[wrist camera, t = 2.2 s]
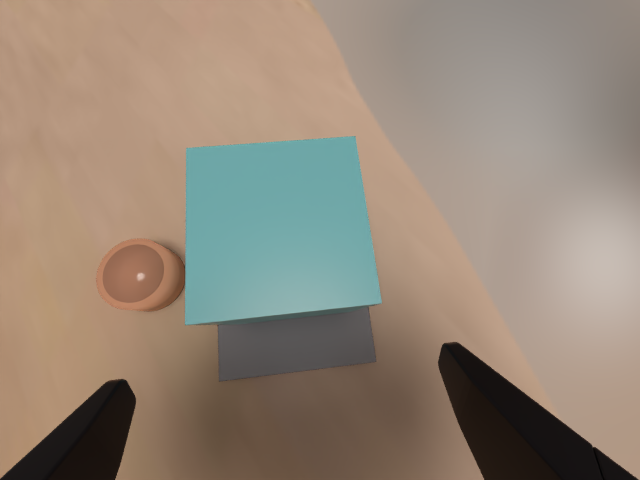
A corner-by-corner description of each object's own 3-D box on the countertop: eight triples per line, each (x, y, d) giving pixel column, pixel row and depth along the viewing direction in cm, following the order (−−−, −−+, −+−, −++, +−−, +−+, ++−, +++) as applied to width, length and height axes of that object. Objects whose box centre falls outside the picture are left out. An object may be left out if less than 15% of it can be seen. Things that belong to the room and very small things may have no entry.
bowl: (185, 307, 20) (169, 305, 18) (117, 314, 20) (92, 313, 18) (185, 245, 22) (170, 235, 19) (121, 250, 21) (98, 241, 19)
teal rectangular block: (349, 312, 20) (381, 303, 12) (238, 324, 20) (185, 325, 11) (336, 209, 22) (355, 136, 14) (234, 218, 22) (186, 148, 13)
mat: (375, 360, 20) (376, 361, 20) (221, 380, 19) (219, 381, 19) (350, 193, 23) (351, 191, 23) (217, 204, 22) (215, 202, 22)
